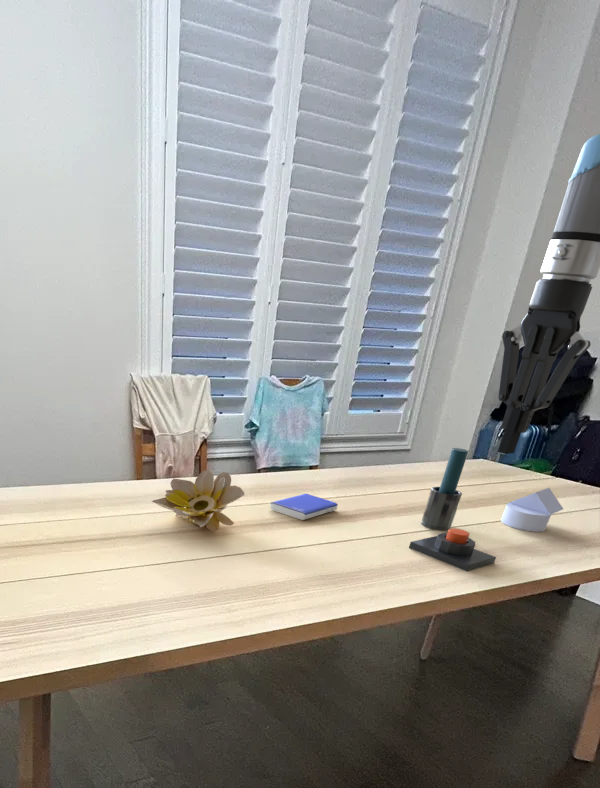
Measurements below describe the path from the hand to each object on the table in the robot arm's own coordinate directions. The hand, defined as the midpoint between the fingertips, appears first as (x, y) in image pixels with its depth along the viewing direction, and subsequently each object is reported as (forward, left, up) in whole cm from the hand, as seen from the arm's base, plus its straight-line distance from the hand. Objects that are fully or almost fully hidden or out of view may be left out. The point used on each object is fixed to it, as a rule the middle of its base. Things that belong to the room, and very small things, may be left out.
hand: (505, 452), depth 105 cm
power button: (+1, +4, -15) cm, 16 cm away
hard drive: (+31, +11, -18) cm, 38 cm away
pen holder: (+13, -9, -18) cm, 24 cm away
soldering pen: (+13, -9, -17) cm, 23 cm away
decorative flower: (+33, +38, -18) cm, 54 cm away
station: (+1, +4, -18) cm, 18 cm away
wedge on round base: (+6, -33, -18) cm, 38 cm away
